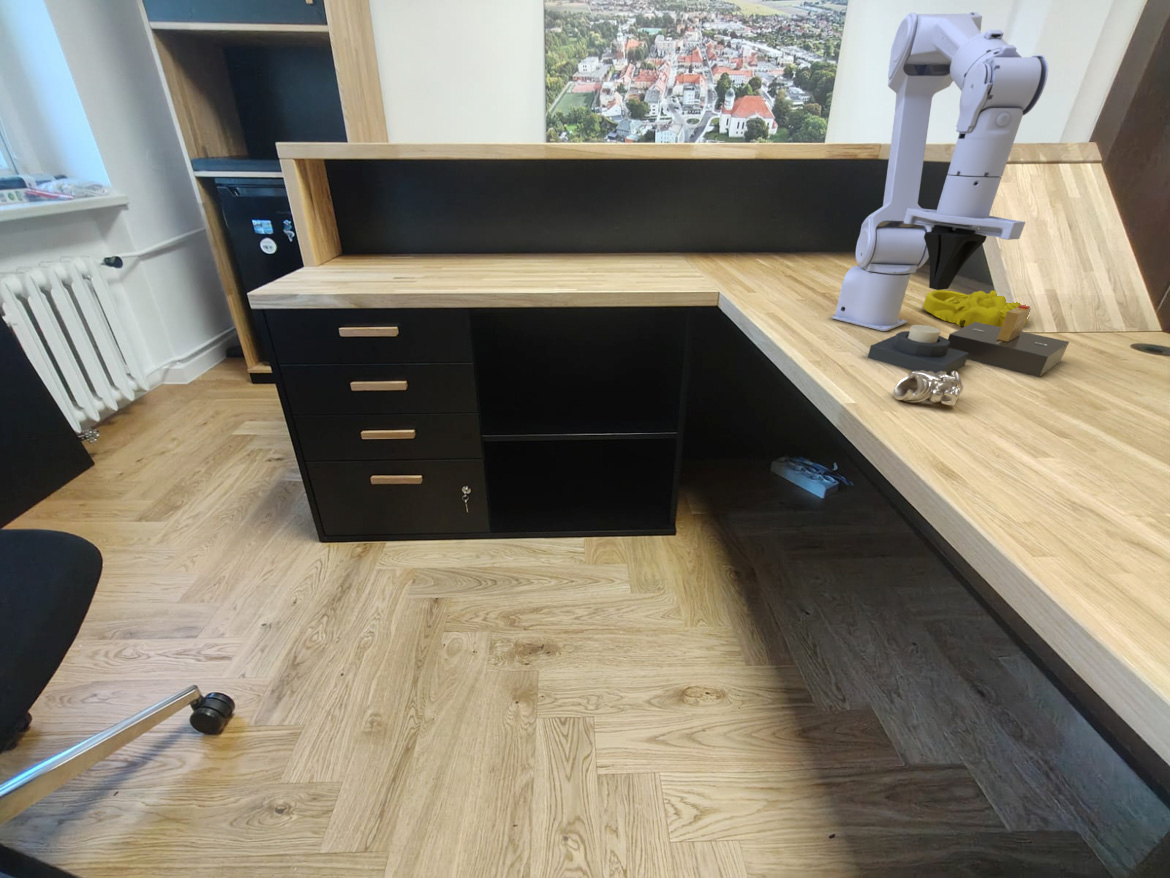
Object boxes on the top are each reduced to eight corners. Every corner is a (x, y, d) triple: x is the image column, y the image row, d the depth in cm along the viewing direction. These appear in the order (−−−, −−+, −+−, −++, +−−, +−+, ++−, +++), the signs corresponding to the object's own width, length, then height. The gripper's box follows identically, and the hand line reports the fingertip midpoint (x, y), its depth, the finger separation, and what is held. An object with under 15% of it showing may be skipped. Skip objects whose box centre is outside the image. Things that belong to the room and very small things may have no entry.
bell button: (902, 340, 78) (906, 328, 77) (914, 335, 80) (917, 323, 79) (929, 346, 75) (934, 334, 74) (940, 341, 77) (944, 329, 76)
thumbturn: (1007, 341, 78) (1019, 312, 76) (996, 339, 79) (1008, 309, 77) (1020, 335, 80) (1032, 306, 78) (1009, 332, 81) (1020, 304, 79)
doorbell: (867, 358, 80) (873, 334, 78) (892, 346, 85) (899, 324, 83) (941, 379, 73) (949, 353, 72) (964, 365, 78) (973, 341, 76)
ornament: (921, 417, 63) (931, 387, 61) (880, 393, 69) (888, 365, 67) (979, 410, 65) (990, 381, 63) (934, 387, 71) (943, 360, 69)
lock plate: (942, 353, 82) (949, 332, 81) (968, 340, 88) (975, 320, 86) (1038, 377, 74) (1048, 355, 73) (1060, 361, 80) (1069, 340, 78)
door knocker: (908, 304, 107) (914, 282, 105) (991, 304, 107) (999, 282, 105) (957, 330, 93) (965, 305, 91) (1053, 331, 92) (1064, 306, 90)
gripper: (1058, 179, 63) (1012, 298, 69) (943, 172, 75) (913, 274, 81) (1017, 180, 61) (974, 303, 67) (905, 172, 72) (877, 278, 79)
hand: (938, 288), depth 74 cm, fingers closed
